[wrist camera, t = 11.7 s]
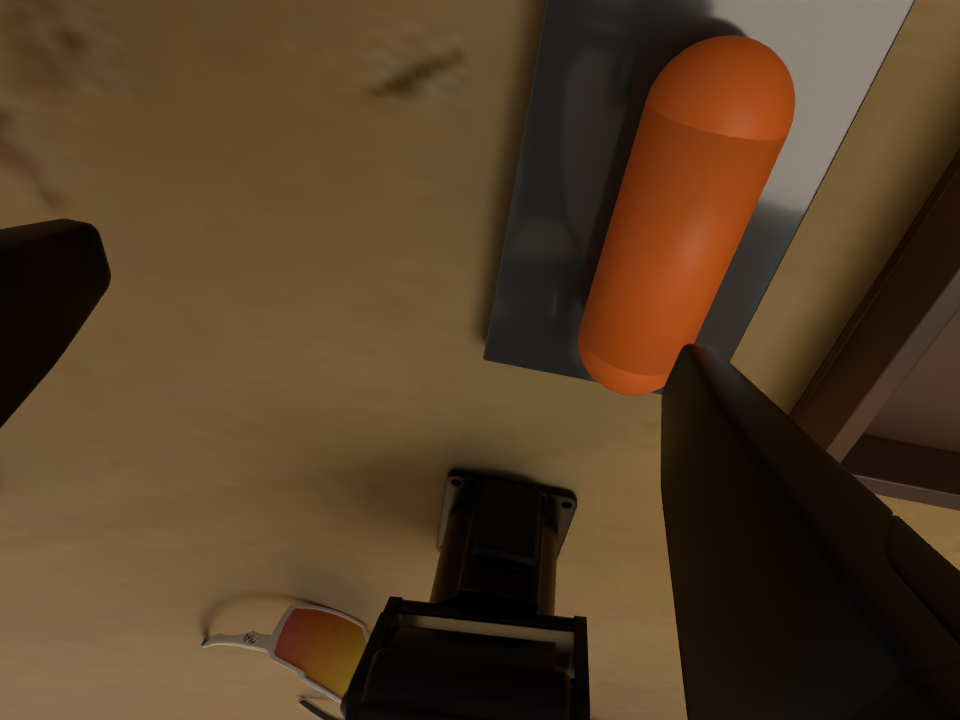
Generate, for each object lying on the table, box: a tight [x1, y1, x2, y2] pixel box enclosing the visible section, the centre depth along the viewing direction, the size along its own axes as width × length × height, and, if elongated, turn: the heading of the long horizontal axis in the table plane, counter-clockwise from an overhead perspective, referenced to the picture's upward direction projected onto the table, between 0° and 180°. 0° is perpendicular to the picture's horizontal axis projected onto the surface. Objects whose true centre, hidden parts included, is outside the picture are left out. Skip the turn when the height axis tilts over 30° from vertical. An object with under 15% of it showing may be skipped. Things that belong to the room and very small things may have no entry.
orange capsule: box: [578, 35, 795, 395], centre depth 17 cm, size 11×4×4 cm, turn 172°
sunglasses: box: [201, 604, 369, 720], centre depth 42 cm, size 14×15×5 cm
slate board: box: [483, 0, 915, 395], centre depth 19 cm, size 14×9×1 cm, turn 172°
